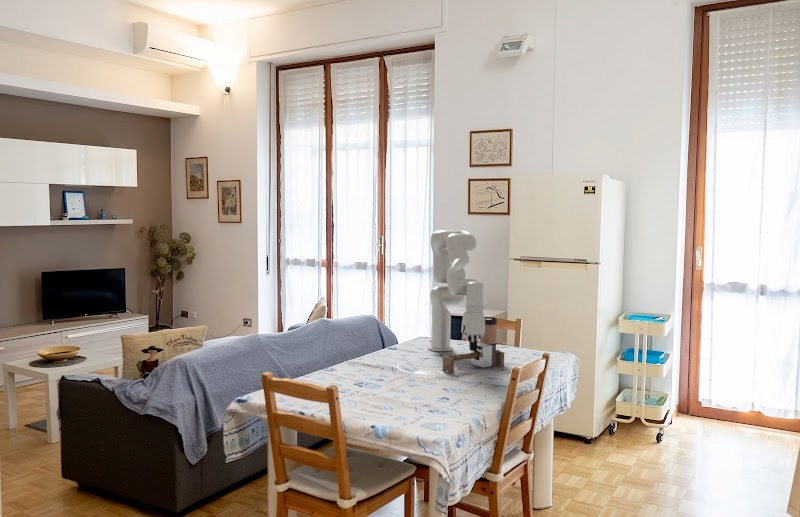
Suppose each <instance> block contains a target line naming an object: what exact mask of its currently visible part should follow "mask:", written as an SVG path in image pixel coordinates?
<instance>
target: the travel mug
mask: <svg viewBox="0 0 800 517" xmlns="http://www.w3.org/2000/svg"><path fill="white" fill-rule="evenodd" d="M484 317H485V333H484V336H483V337H480V338H479V342H481V343H487V344H490V345H493V346H496V347H497V336H498V335H497V327H498V326H497V324H498V318H496V317H494V316H493V317H492V316H484Z"/></svg>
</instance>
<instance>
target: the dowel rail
mask: <svg viewBox="0 0 800 517" xmlns="http://www.w3.org/2000/svg"><path fill="white" fill-rule="evenodd" d="M479 354H480V352H475V353H471V352H469V353H467V352H466V353H462V354H461V353H459V354H449V355H443V356H442V371H443V372H445V371H448V372H449V373H453V374H455V361H461V360H471V358H479ZM493 366H496V367H498V366H499V368H504V367H505V352H503V351H501V350H499V349H496V362H495V364H493ZM449 373H448V374H449Z"/></svg>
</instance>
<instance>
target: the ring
mask: <svg viewBox="0 0 800 517" xmlns="http://www.w3.org/2000/svg"><path fill="white" fill-rule="evenodd" d="M484 344H487V343H484ZM487 345H490V344H487ZM490 346H492V365H493V364H495V362H496V350H497V345H496V346H493V345H490ZM493 366H494V365H493Z"/></svg>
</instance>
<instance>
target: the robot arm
mask: <svg viewBox="0 0 800 517" xmlns="http://www.w3.org/2000/svg"><path fill="white" fill-rule="evenodd" d="M430 246H431V251H432V255H433V268H432V269H433V280H434V282H435V283H436V284H440V285H441V284H443V285H445V284H447V285H445V286H442V285H441V286H435V287H433V288H432V289H431V290H430V294H429V296H430V304H431V306H430V307H431V332H430V333H431V338H430V339H428V342H429V343H430V344H429V345H428V346H427V349H428V350H430V351H433V352H450V351H453V350H454V347H453V345H451V324H452V323H451V321H452V316H451V311H450V310H449V309H448V308H447V306H448V307H449V306H459V305H462V304H464V302H465V311H464V312H463V314H462V320H461V334H462V338H463V339H467V340H468V341H469V350H470V351H471V350H472V351H477V343H478V342H480V337H483V336H484V333H485V317H486V316H485V312H484V310H485V306H484V283H483V282H481V281H479V280H477V279H476V278H466V271H465V267H466V266H468V264H469V263H470V258H469V254H468V252H473V251H474V250H475V249H476V248H477V239H476V237H475V236H474V235H473V233H470V232H468V231H465V230H436V231H433V233H432V234H431V237H430Z"/></svg>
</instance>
